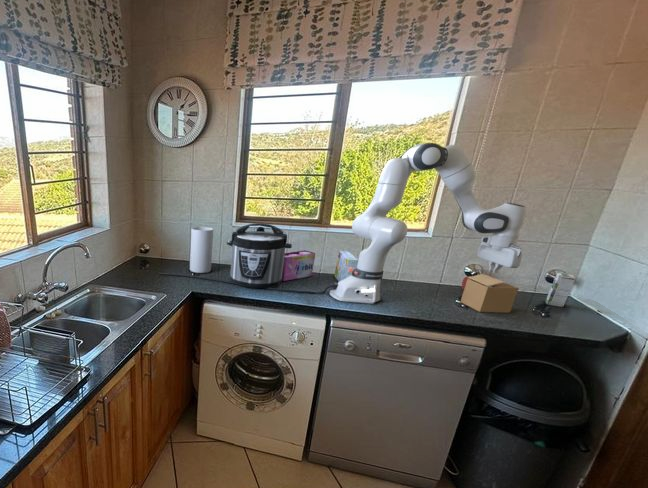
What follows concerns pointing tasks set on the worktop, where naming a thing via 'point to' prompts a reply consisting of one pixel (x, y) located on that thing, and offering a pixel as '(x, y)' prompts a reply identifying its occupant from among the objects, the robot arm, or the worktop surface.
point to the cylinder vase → (201, 249)
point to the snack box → (345, 265)
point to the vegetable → (466, 281)
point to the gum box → (298, 265)
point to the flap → (485, 280)
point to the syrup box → (560, 289)
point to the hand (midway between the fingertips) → (493, 272)
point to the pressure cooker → (257, 256)
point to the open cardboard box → (489, 296)
